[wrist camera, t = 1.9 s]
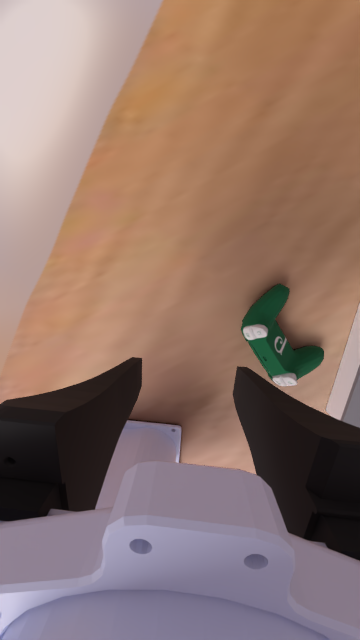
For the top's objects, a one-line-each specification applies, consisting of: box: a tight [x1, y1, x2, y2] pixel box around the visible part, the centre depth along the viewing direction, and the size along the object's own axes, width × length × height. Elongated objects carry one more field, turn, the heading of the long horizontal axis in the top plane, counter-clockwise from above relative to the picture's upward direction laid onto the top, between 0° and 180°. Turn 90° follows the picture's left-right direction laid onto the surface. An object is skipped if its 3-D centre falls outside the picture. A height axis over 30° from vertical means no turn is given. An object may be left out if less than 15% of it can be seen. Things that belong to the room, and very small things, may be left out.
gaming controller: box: [241, 284, 324, 386], centre depth 18 cm, size 9×4×6 cm
